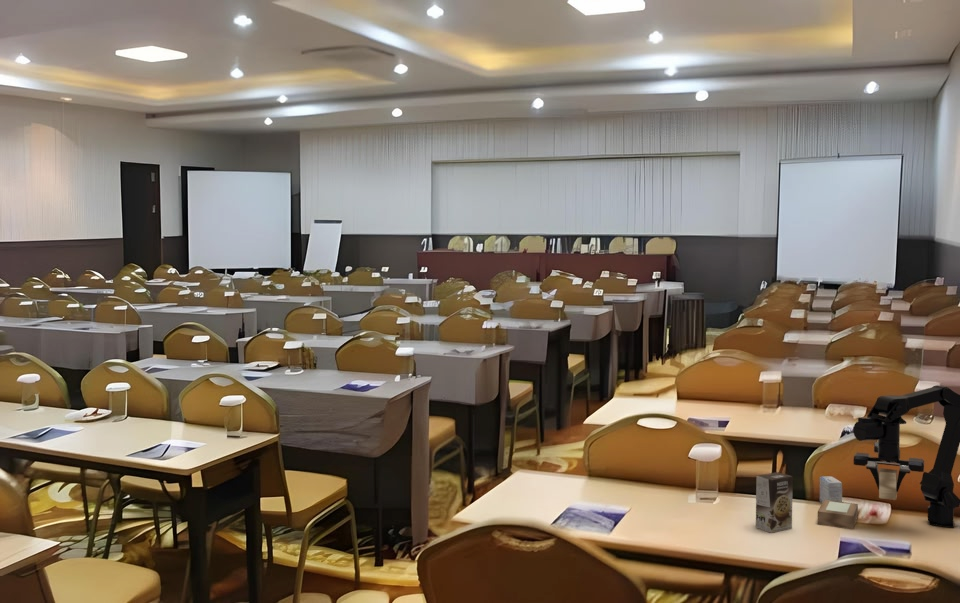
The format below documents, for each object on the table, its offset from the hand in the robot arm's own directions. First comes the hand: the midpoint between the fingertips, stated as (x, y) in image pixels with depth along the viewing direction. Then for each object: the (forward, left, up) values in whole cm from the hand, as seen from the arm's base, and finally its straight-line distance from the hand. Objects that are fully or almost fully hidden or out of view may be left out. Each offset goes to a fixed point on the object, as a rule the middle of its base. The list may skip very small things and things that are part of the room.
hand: (888, 490), depth 245 cm
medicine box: (+18, -18, -12) cm, 28 cm away
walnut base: (+14, -2, -12) cm, 18 cm away
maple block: (0, 0, -2) cm, 2 cm away
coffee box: (+30, +15, -12) cm, 36 cm away
